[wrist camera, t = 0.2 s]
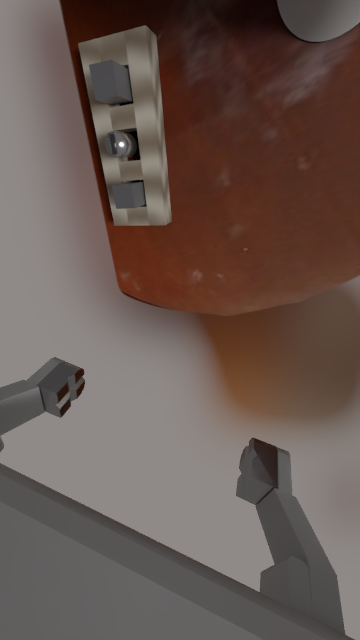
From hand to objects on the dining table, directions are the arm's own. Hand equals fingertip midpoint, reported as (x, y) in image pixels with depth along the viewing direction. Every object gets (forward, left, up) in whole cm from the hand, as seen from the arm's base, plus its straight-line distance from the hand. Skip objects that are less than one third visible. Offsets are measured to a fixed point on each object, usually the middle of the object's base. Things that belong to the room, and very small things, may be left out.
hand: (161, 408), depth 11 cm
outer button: (+1, -23, -44) cm, 50 cm away
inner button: (-14, -27, -44) cm, 54 cm away
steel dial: (-7, -25, -44) cm, 51 cm away
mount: (-7, -25, -47) cm, 54 cm away
